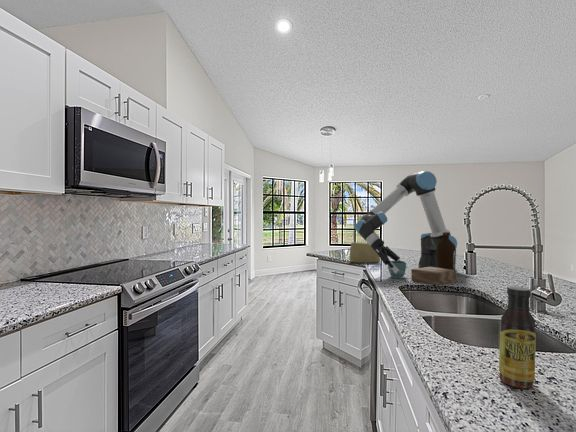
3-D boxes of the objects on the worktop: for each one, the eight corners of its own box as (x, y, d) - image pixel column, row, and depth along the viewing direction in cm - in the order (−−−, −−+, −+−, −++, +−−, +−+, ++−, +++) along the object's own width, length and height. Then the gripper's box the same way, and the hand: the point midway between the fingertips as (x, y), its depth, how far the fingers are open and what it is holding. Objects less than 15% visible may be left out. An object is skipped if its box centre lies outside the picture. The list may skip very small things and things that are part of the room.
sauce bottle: (502, 387, 70) (501, 289, 70) (496, 374, 76) (494, 284, 76) (541, 393, 68) (539, 292, 68) (531, 379, 74) (530, 285, 74)
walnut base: (430, 277, 196) (430, 266, 196) (456, 281, 182) (456, 270, 182) (411, 280, 187) (411, 269, 187) (438, 285, 174) (437, 273, 174)
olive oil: (436, 276, 198) (435, 232, 198) (436, 273, 207) (435, 231, 207) (456, 277, 193) (456, 232, 193) (456, 274, 203) (455, 232, 203)
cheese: (349, 262, 261) (349, 242, 261) (350, 261, 271) (349, 242, 271) (380, 263, 257) (379, 243, 257) (379, 261, 266) (379, 242, 266)
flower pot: (403, 276, 200) (402, 260, 200) (406, 279, 191) (406, 262, 191) (387, 276, 201) (387, 260, 201) (390, 278, 192) (390, 262, 192)
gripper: (379, 244, 215) (404, 271, 205) (362, 247, 196) (388, 277, 186) (387, 236, 211) (413, 263, 202) (370, 238, 193) (398, 268, 183)
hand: (401, 270), depth 194 cm, fingers closed on flower pot, 11 cm apart
